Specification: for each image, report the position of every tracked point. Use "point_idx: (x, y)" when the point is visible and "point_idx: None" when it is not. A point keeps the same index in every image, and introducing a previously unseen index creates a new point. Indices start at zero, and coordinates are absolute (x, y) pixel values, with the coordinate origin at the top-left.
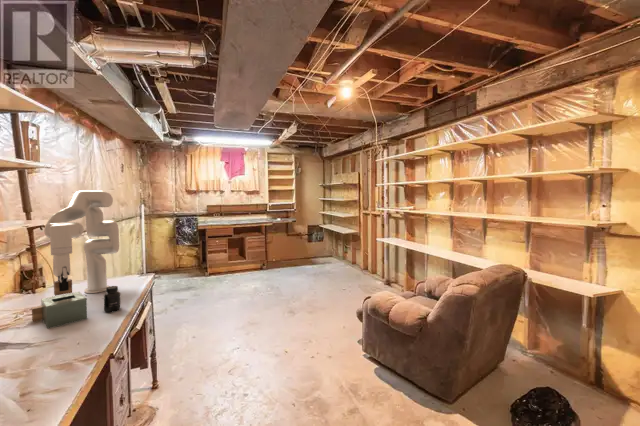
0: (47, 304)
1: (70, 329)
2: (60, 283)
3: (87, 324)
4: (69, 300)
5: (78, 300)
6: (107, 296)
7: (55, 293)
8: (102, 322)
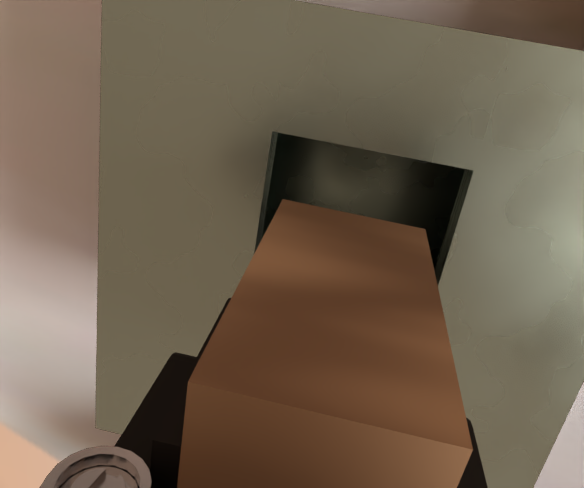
0: (203, 17)
1: (36, 113)
2: (160, 447)
3: (51, 234)
4: (155, 287)
5: (101, 349)
6: None
7: (276, 219)
8: (10, 308)
